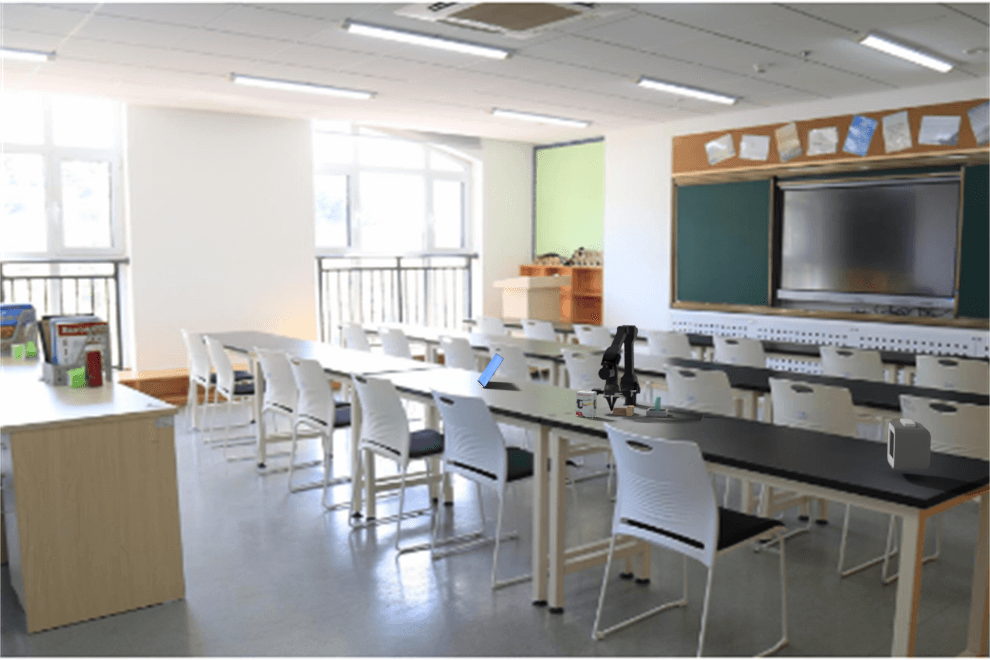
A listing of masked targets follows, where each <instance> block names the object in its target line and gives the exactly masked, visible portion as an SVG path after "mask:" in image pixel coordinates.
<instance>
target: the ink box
mask: <svg viewBox="0 0 990 660" xmlns="http://www.w3.org/2000/svg"><path fill="white" fill-rule="evenodd" d="M597 398H598V396H597V392H594V391H591V390H579V391H578V390H577V391H576V392H575V416H576V415H578V416H586V417H595V416H596V417H597V413H598V412H597V408H598V407H597V403H598V402H597ZM596 417H595V418H596Z"/></svg>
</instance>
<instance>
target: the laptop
mask: <svg viewBox="0 0 990 660" xmlns="http://www.w3.org/2000/svg"><path fill="white" fill-rule="evenodd" d="M504 360H505V359H504V357H503V356H501V355H500V354H498V353H495V354H494V356H493V357H492V358H491V360H490V362H489V363H488V364H487V366H486V367H485V369H484V370H483V372H482V373H481V375H480V376H479V378H478V379H477V383H478V382H479V383H480V384H481V385H482V386H483V387H482V389H483V388H484V389H485V387H486V386H487V385H488V384H489V381H491V379H492V377H493V376H494V375H495V373H496V372H497V370H498V368H499V367H500V366H501V364H502V363H503V361H504ZM479 383H478V384H479ZM480 384H479V385H480ZM481 385H480V386H481Z"/></svg>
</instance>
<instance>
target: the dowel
mask: <svg viewBox="0 0 990 660" xmlns="http://www.w3.org/2000/svg"><path fill="white" fill-rule="evenodd" d="M661 398H662V397H661V396H654V400H653V401H654V402H653V404H654V406H653V408H654V411H660V408H662V407H661V403H662V402H661V401H662V399H661Z"/></svg>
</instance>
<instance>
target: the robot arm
mask: <svg viewBox="0 0 990 660" xmlns="http://www.w3.org/2000/svg"><path fill="white" fill-rule="evenodd" d="M615 332H616V333H615V335H614V337H613V339H612V342H611V344H610V346H608V347H606V349H605V351H604V353H603V354H602V359H601V362H600V366H601V368H599V370H598V373H597V374H598V375H597V376H598V378H599V379H601V380H602V381H605V383H604V388H603V389H601V388H599V387H594V388H592V389H591V390H590V391H594V392H597V397H598V396H599V395H603V398H604V399H605V400H606V402H607V404H608V407H609V410H610V412H613V409H614V408H615V405H616V402H617V400H618V399H620V398H621V396H623V397H624V403H623V406H624V407H625V406H627V407H628V406H634V407H638V405H639V404H638V403H637V398H638V397H637V395H638V394H641V389H642V388H641V385H640V383H639V381H638V380H639V379H638V376H637V374H636V373H635V358H634V357H635V349H634V348H635V344H634V343H635V341H637V338H638V334H639V329H638V327H637V326H636V325H635V324H634V325H633V324H631V325H629V324H623V325H622V324H621V325H617V327H616V331H615ZM622 347H623V362H624V363H623V365H624V366H623V368H624V369H623V372H624V373H623V375H622V376H621V377H620V381H619V367H620V366H619V365H620V363H621V360H622V354H621V349H622Z"/></svg>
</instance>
